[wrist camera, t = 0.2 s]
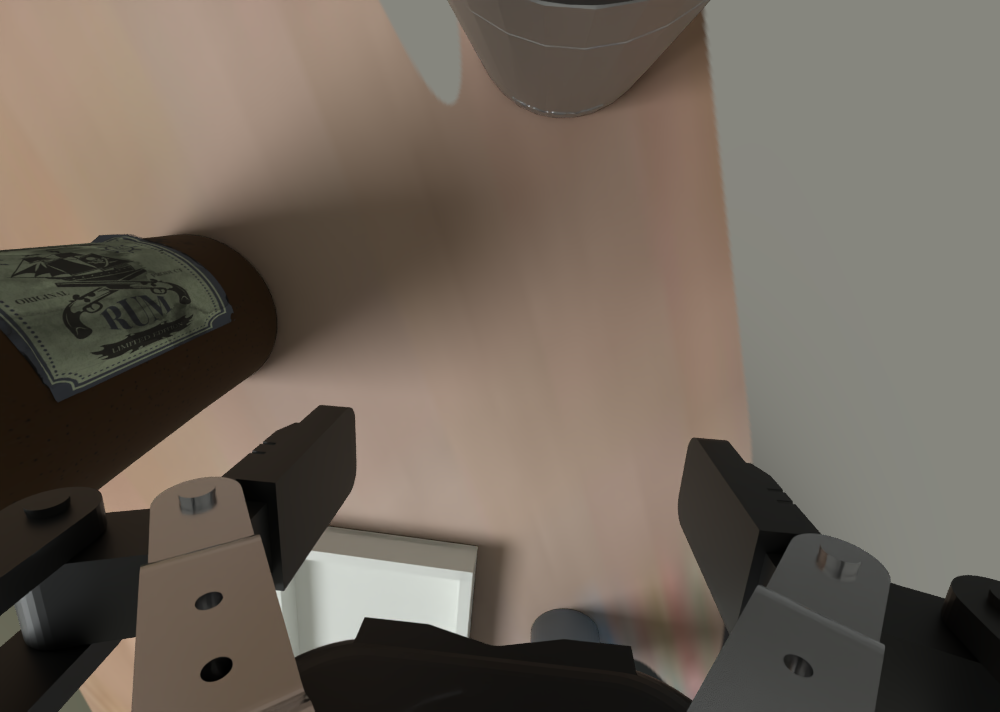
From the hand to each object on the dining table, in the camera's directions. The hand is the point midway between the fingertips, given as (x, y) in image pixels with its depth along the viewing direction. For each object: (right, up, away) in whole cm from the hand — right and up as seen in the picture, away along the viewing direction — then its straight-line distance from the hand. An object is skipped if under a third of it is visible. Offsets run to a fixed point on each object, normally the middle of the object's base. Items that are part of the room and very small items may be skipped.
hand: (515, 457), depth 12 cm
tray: (-10, -18, +26) cm, 33 cm away
